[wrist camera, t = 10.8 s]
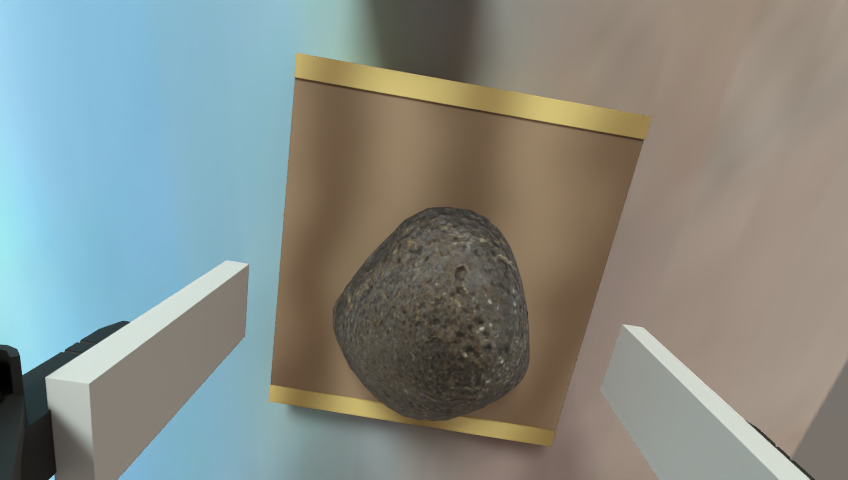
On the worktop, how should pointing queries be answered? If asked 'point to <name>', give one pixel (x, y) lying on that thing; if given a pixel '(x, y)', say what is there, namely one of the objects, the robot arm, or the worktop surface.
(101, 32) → the worktop surface
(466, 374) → the stone
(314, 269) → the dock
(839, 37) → the worktop surface
